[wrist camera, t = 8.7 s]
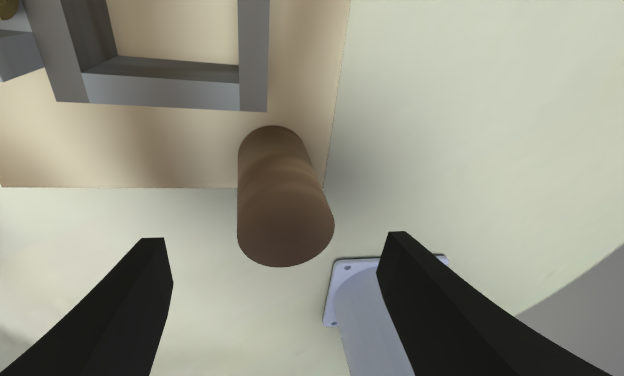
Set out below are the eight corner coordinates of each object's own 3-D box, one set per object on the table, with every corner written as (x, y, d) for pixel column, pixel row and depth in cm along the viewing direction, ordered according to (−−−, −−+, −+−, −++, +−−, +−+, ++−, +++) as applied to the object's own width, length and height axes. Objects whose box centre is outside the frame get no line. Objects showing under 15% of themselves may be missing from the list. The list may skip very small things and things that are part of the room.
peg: (303, 121, 15) (334, 185, 10) (307, 180, 17) (334, 258, 12) (231, 130, 15) (227, 202, 10) (244, 190, 17) (246, 274, 12)
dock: (363, -145, 11) (457, -261, 6) (319, 178, 19) (344, 250, 13) (-194, -270, 8) (-972, -719, 3) (18, 174, 16) (-100, 266, 10)
